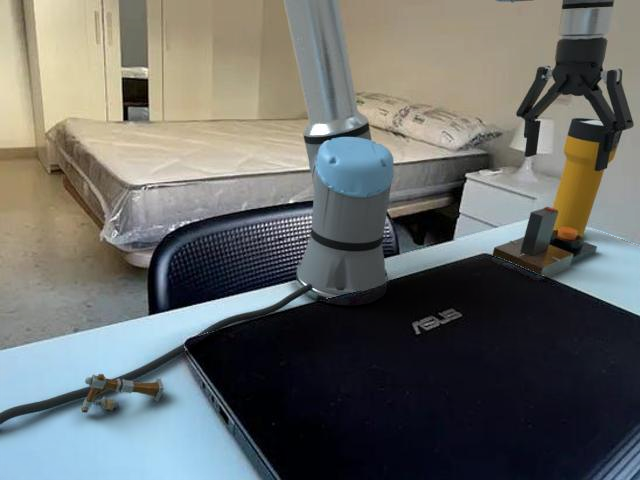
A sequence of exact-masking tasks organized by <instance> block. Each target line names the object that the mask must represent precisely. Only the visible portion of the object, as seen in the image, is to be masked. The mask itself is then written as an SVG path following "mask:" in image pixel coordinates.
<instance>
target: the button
mask: <svg viewBox="0 0 640 480" xmlns="http://www.w3.org/2000/svg"><path fill="white" fill-rule="evenodd" d="M577 234H578V231H577V230H575V229H573V228H569V227H560V228H559V230H558V234H557V236H559V237H561V238H564V239H568V240H576V237H577Z"/></svg>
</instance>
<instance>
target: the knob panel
mask: <svg viewBox="0 0 640 480" xmlns="http://www.w3.org/2000/svg"><path fill="white" fill-rule="evenodd" d="M523 240H524V236H523V237H520V238H516V239H514V240H510V241H509V242H505V243H503V244H500V245H497V246H494V247H493V250H492V255H493V256H496V257H500V258H502V259H505V260H507V261H510V262H512V263H514V264H517V265H519V266H522V267H524V268H526V269H529V270H531V271H534V272H536V273H538V274H540V275H544V276H545V277H547V278H546V279H548V278H550V277H553V276H555V275H557V274H559V273H561V272H564V271H566V270H567V269H570V267H571V265H572V264H571V261H572V258H573V255H574V254H572V253H570V252H567V251H565V250H562V249H559V248H557V247H554V246H552V245H549V246H548V249H547V250H545V251H542V252H540V253H537V254H535V255H533V256H531V255H529V254H526V253H524V252H521V247H522V244H523ZM570 264H571V265H570Z"/></svg>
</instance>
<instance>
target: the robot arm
mask: <svg viewBox="0 0 640 480" xmlns="http://www.w3.org/2000/svg"><path fill="white" fill-rule="evenodd" d="M495 1H496V2H503V3H504V2H509V3H512V4H513V3H515V2H529V1H531V2H532V1H533V0H495ZM282 2H283V5H284V10H285V14H286V20H287V24H288V29H289V34H290V38H291V43H292V48H293V52H294V57H295V63H296V66H297V71H298V76H299V81H300V85H301V89H302V94H303V100H304V104H305V108H306V113H307V118H308V121H307V123H306V126H305V127H304V129H303V130H302V135H303V140H304V145H305V149H306V155H307V158H308V166H309V170H310V174H311V179H312V186H313V203H312V214H311V225H310V237H309V241H308V243H307V245H306V248H305V250H304V253H303V257H302V259H300V261H299V263H298V265H297V267H296V275H295V282H296V285H297V288H298V289H297V290H295V291H293V292H292V293H290V294H288V295H287V296H285V297H284V298H282V299H281V300H279V301H278V302H276V303H273V304H271V305H269V306H267V307H264V308H260V309H257V310H253V311H248V312H243V313H242V312H241V313H239V314H234V315H232V316H228V317H225V318H223V319H221V320H219V321H217V322H215V323H213V324H211V325H210V326H208V327H207V328H205V329H204V330H202V331H201V332H199V333H197V334H196V335H195V336H198V335H201V334H204V333H207V332H208V333H209V332H212V331H216V330H217V331H220V330H221V329H223V328H225V327H227V326H230V325H233V324H236V323H239V322H243V321H247V320H253V319H256V318H260V317H264V316H268V315H270V314H272V313H275V312H277V311H280V310H281V309H283V308H284V307H286V306H287V305H288V304H290V303H291V302H293V301H295V300H296V299H298V298H300V297H301V296H303V295H306V296H307V297H309V298H311V299H313V300H316V301H318V302H320V300H324V299H326V298H330V297H334V296H338V295H342V294H347V293H353V292H357V291H365V290H368V289H371V288H375V287H377V286H380V285H382V284H384V283H386V282H387V281H388V282H389V276H388V271H387V269H386V262H385V255H384V249H383V241H384V234H385V230H386V229H385V228H386V222H387V215H388V209H389V208H388V207H389V201H390V194H391V187H392V182H393V180H394V176H395V170H394V163H395V162H394V161H395V160H394V156H393V154H392V152H391V151H390V150H389V149H388V148H387V147H386V146H385V145H383V144H381V143H376V141H374V140H372V135H371V129H370V122H369V118H368V117H367V116H366V115H364V114H362V113H361V112H360V111H359V110H358V104H357V99H356V93H355V87H354V82H353V81H354V80H353V75H352V69H351V64H350V58H349V53H348V46H347V41H346V34H345V29H344V23H343V18H342V11H341V6H340V0H283V1H282ZM614 3H615V0H562V3H561V12H560V19H559V26H558V36H560V37H561V38H560V39H558V41H557V42H556V48H555V57H554V61H555V65H554V67H551V66H550V65H544V66H539V67H538V68H537V69H536V73H535V77H534V81H533V82H532V84H531V86H530V88H529V89H528V91H527V93H526V94H525V96H524V98H523V100H522V101H521V104H519V107H518V109H517V110H516V112H515V115H516V117H518V118H521V119H523V120H524V127H523V138H524V139H525V140H526V142H525V148H524V149H525V150H524V157H525V158H529V157H533V156H537V154H538V145H539V137H540V131H541V122H542V121H541V120H539V117H540V116H541V115H542V114H543V113H544V112H545V111H546V110H547V109H548V108H549V107H550V106H551V104H553V103H554V101H556V100H557V99H558V98H559V97H560V96H561V95H563V96H569V95H571V96H574V97H582V96H583V98H585V99H586V100H587V101H588V103H589V104H590V106H591V107H592V109H593V110H594V112H595V114H596V115H597V117H598V120H600V121H601V122H602V124H603V126H604V127H605V129H606V131H605V132H601V136H600V142H599V147H598V153H597V158H596V164H595V171H601V170H604V171H605V170H607V169H608V166H609V163H608V161H609V155H610V152H612V151H615V149H616V147H617V141H618V136H619V133H620V131H622V132H623V131H627V130H631V129H632V128H633V127H634V126H635V124H634V120H633V117H632V113H631V110H630V107H629V103H628V100H627V97H626V93H625V89H624V86H623V70H622V69H621V68H615V69H614V68H613V69H610V70H609V69H608V70H604V67H603V65H604V61H605V59H606V52H607V47H608V39H607V37H605V35H608V34H609V33H610V28H611V23H612V22H611V21H612V16H613V9H614ZM551 78H552V79H553V81H554V83H553V84H552V85H551V86H550V87H549V88H548V89H547V92H546V93H545V94H544V95H543V96H542V97H541V98H540V99H539V97H540V96H541V94H542V93H543V92H544V91H543V90H544V89H545V87H546V86H547V84H548V81H549V80H550V79H551ZM602 80H603V83H604V84H605V85H606V90H607V94H608V97H609V101H610V104H611V106H610V105H609V103H608V101H607V99H606V98H605V97H604V95H603V90H602V88H601V87H600V85H599V83H600V82H601V81H602ZM538 99H539V100H538ZM537 101H538V102H537ZM611 107H612V108H611ZM617 148H618V147H617ZM217 331H216V332H217ZM185 343H186V342H184V343H182V344H180V345H178V346H177V347H175V348H174V349H172V350H170V351H168V352H167V353H165V354H163V355H161V356H159V357H157V358H155V359H154V360H152V361H150V362H148V363H146V364H144V365H142V366H140V367H138V368H135V369H134V370H132V371H129V372H127V373H124V374H121V375H119V376H117V377H114V378H112V379H113V380H117V378H118V379H120V381H122V379H124V380H128V381H135V380H137V379H139V378H142V377H143V376H145V375H147V374H149V373H151V372H153V371H155V370H156V369H158V368H160V367H162V366H164V365H166V364H167V363H169V362H171V361H172V360H174V359H176V358H177V357H179V356H181V355H183V354H184V353H186V352H187V351H185V348H184V344H185ZM91 388H92V387H91ZM91 388H90V385H88V386H86V387H83V388H79V389H75V390H72V391H69V392H66V393H63V394H59V395H56V396H53V397H50V398H47V399H43V400H40V401H34V402H30V403H23V404H20V405H17V406H12V407H9V408H7V409H4V410H2V411H1V412H0V426H1V425H2V424H3V423H5V422H8V421H9V420H11V419H14V418H18V417H20V416H24V415H30V414H34V413H40V412H44V411H47V410H50V409H54V408H57V407H60V406H62V405H65V404H69V403H72V402H74V401H77V400H81V399H84V398H86V397H87V396H88V394H89V392H90V390H91ZM99 390H101V389H100V388H99V389H98V391H99ZM110 390H111V389H107V390H106V391H105V392H107V391H110ZM98 391H97V392H98Z"/></svg>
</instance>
